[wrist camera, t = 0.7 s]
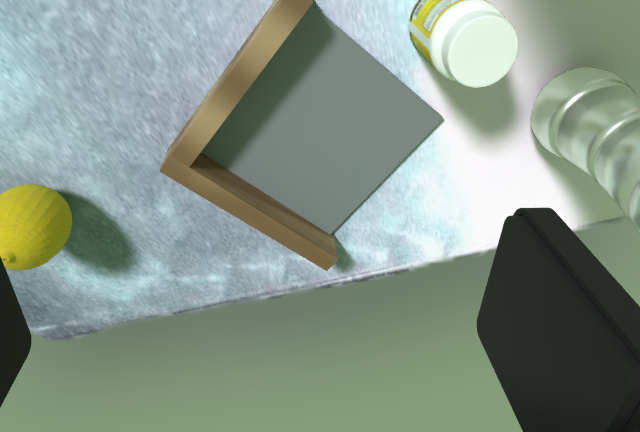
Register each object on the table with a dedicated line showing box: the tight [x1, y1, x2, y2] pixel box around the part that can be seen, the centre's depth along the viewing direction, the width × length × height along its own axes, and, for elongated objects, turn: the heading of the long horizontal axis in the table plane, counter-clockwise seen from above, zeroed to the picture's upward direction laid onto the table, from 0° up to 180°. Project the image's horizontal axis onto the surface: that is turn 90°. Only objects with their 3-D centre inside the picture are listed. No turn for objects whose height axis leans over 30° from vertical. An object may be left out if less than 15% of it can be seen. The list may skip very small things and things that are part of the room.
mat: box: [201, 5, 443, 234], centre depth 38 cm, size 14×14×1 cm
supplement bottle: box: [408, 0, 518, 88], centre depth 31 cm, size 5×5×8 cm
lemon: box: [0, 184, 72, 270], centre depth 36 cm, size 6×6×8 cm
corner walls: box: [160, 0, 338, 271], centre depth 37 cm, size 16×16×4 cm
